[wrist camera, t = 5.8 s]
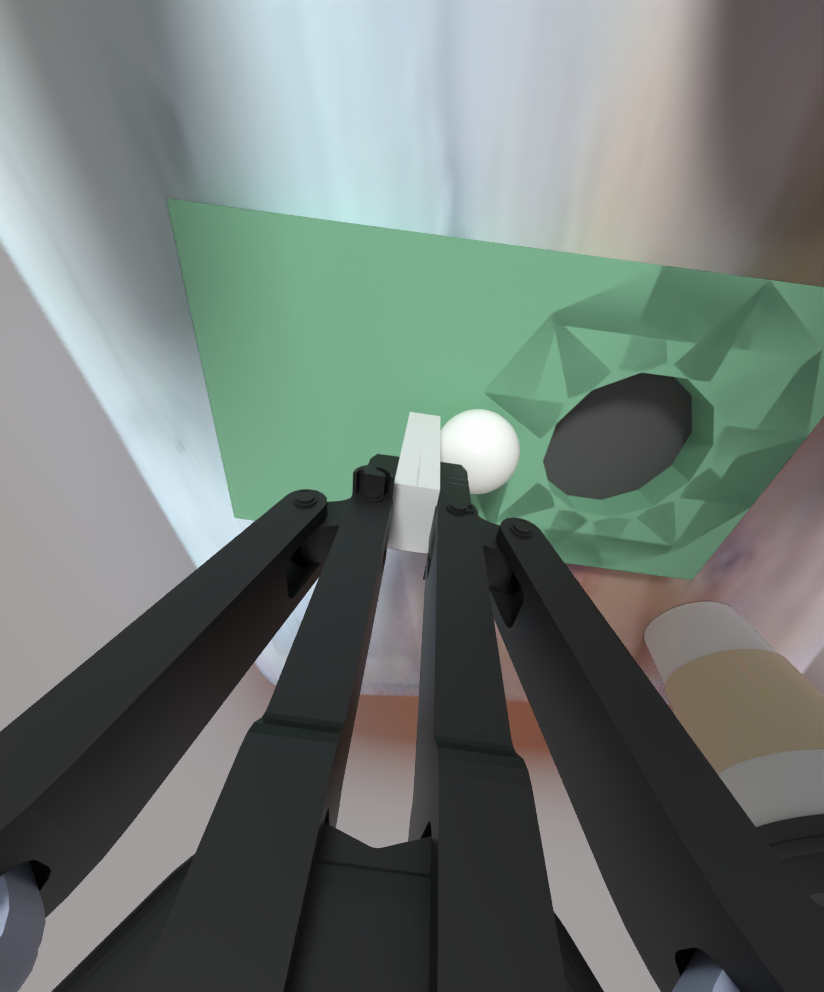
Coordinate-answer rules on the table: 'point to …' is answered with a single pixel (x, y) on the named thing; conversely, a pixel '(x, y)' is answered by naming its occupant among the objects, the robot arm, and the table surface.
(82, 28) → the table surface
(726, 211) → the table surface
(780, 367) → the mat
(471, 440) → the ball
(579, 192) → the table surface
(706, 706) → the coffee cup
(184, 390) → the table surface
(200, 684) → the robot arm
